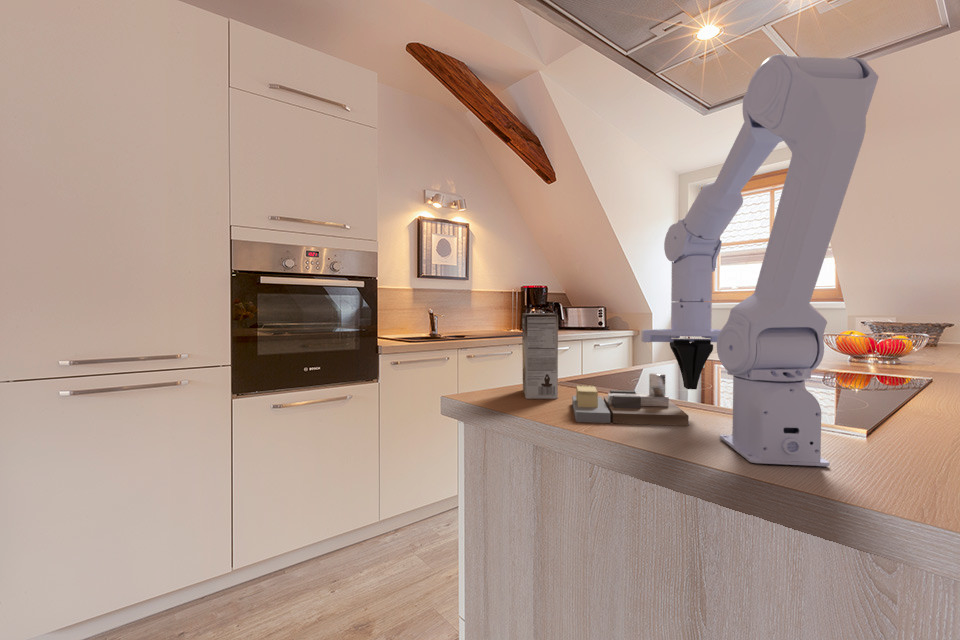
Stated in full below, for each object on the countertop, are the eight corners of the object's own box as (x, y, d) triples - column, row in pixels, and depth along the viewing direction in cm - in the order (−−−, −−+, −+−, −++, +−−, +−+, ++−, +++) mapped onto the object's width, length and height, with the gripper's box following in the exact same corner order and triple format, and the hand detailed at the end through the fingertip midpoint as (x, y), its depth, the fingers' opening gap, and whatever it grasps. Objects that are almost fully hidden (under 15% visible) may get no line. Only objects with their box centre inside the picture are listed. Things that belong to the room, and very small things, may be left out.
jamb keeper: (610, 423, 66) (610, 396, 66) (576, 421, 67) (576, 395, 67) (601, 404, 78) (601, 382, 78) (572, 404, 79) (572, 381, 79)
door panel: (688, 425, 64) (688, 403, 64) (613, 423, 66) (613, 401, 66) (667, 406, 76) (667, 387, 76) (603, 404, 78) (603, 386, 78)
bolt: (668, 406, 69) (669, 375, 69) (609, 405, 71) (609, 374, 70) (665, 403, 72) (665, 373, 71) (607, 401, 73) (607, 372, 73)
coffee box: (521, 389, 92) (521, 312, 92) (552, 389, 92) (552, 312, 91) (525, 399, 83) (524, 313, 82) (559, 399, 83) (559, 313, 82)
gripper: (730, 301, 72) (729, 384, 73) (637, 302, 74) (637, 382, 75) (749, 301, 65) (748, 393, 66) (646, 302, 67) (646, 390, 68)
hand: (690, 388), depth 70 cm, fingers closed
